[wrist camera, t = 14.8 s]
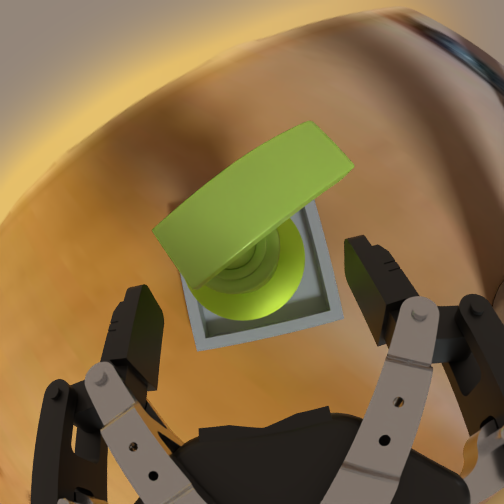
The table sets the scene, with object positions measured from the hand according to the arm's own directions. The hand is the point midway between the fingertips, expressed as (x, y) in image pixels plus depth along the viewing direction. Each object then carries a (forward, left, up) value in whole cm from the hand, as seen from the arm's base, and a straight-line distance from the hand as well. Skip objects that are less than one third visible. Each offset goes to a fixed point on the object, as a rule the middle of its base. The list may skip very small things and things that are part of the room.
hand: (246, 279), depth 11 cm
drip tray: (0, -2, -16) cm, 16 cm away
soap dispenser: (0, -1, -15) cm, 15 cm away
